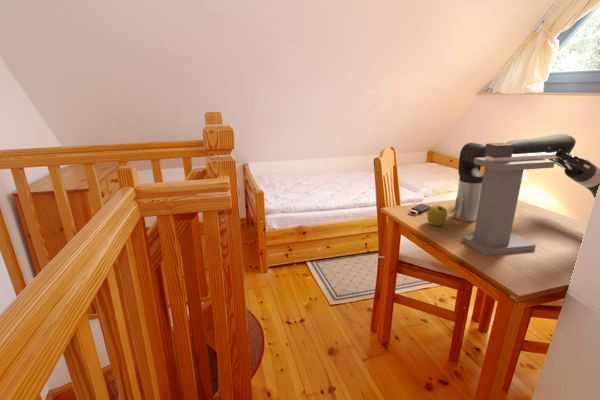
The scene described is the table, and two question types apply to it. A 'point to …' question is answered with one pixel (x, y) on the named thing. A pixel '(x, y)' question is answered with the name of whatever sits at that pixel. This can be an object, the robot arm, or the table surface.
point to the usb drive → (420, 209)
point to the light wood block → (504, 153)
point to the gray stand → (500, 206)
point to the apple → (436, 215)
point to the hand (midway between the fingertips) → (552, 151)
